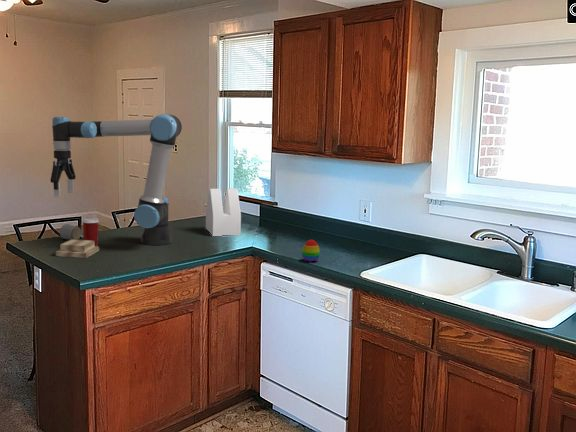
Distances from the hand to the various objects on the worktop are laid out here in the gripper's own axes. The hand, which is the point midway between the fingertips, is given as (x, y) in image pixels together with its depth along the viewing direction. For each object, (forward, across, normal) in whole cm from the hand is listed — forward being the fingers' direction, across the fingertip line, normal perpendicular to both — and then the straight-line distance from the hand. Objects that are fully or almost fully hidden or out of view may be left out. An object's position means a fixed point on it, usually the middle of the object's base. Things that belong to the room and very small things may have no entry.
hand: (64, 194), depth 268 cm
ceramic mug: (+25, -12, -2) cm, 27 cm away
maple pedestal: (+24, +16, +13) cm, 32 cm away
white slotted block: (+26, -48, +67) cm, 87 cm away
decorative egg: (+27, +3, +119) cm, 122 cm away
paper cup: (+25, +4, +14) cm, 29 cm away
